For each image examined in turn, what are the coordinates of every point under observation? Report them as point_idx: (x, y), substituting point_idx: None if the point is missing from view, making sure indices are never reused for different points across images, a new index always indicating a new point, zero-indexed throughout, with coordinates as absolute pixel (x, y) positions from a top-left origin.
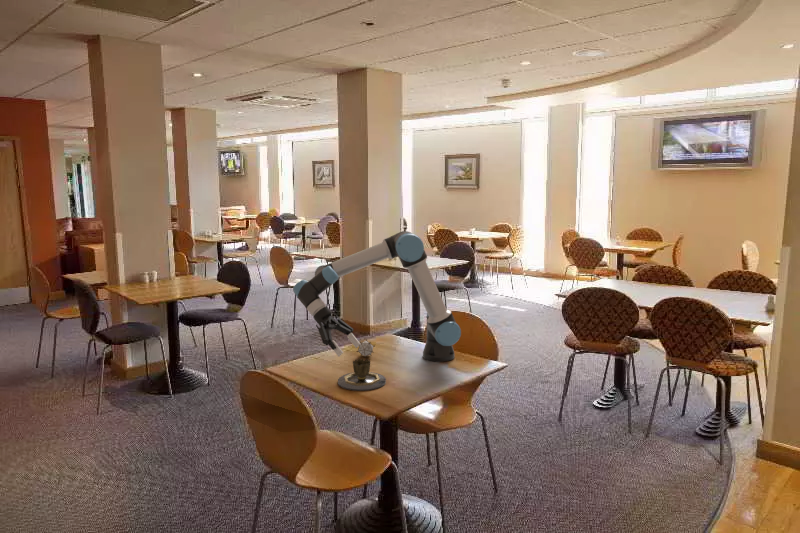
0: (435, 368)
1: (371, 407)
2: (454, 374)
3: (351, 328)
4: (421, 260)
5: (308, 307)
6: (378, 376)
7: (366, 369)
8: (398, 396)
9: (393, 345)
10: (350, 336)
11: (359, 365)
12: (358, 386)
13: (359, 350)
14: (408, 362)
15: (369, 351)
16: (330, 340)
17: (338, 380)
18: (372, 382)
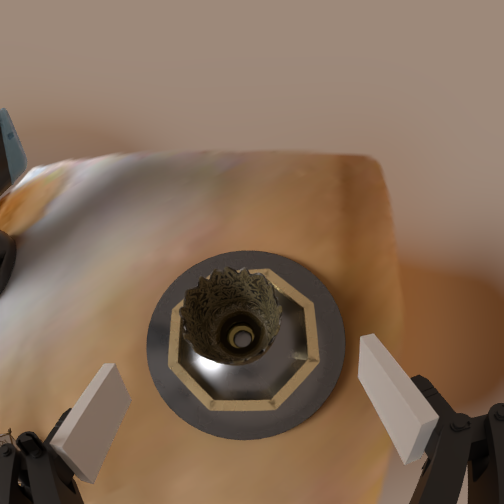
0: (51, 232)
1: (382, 192)
2: (82, 183)
3: (6, 458)
4: None
5: None
6: None
7: (246, 285)
8: (278, 183)
9: None
10: (85, 449)
11: (210, 355)
12: (314, 298)
13: None
14: (23, 314)
15: (12, 441)
16: (465, 416)
17: (311, 411)
18: (262, 269)
